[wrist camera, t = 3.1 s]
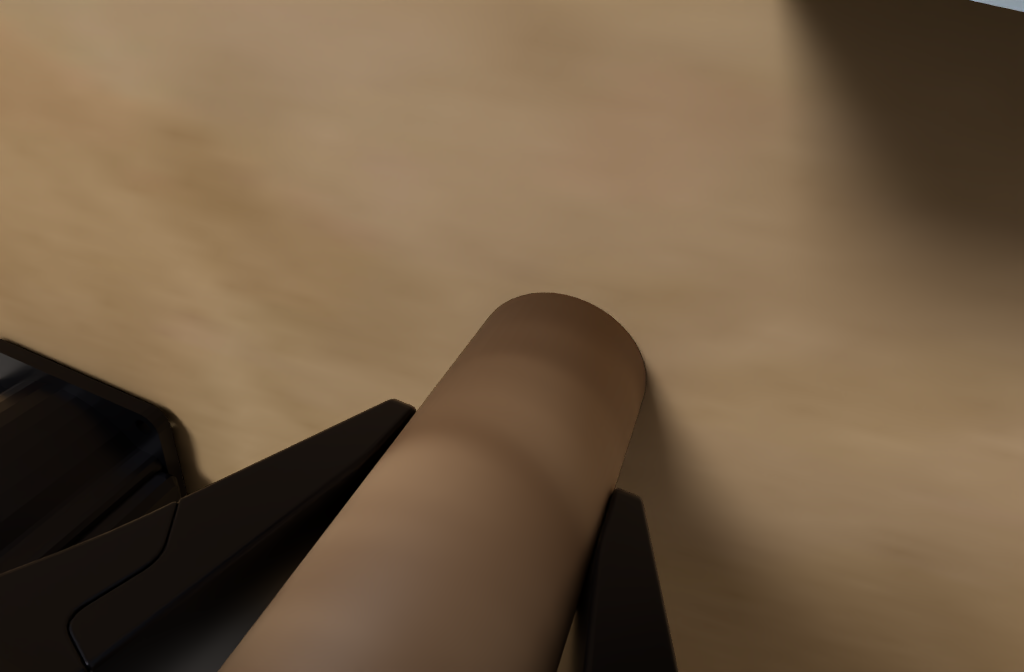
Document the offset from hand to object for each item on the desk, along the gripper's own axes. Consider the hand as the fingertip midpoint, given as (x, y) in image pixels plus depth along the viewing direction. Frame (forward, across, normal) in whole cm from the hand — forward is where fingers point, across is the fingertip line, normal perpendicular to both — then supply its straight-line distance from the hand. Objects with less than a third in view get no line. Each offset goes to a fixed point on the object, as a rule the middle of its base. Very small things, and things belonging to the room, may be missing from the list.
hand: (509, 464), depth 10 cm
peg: (+2, 0, 0) cm, 2 cm away
